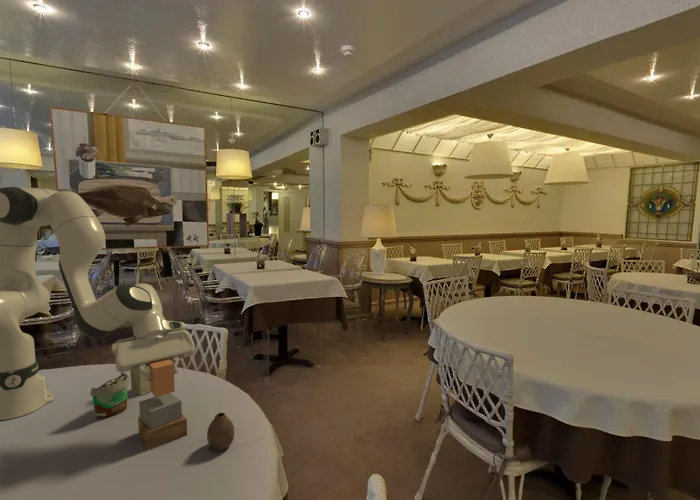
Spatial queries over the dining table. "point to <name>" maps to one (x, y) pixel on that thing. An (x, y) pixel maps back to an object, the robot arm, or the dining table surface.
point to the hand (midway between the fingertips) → (162, 376)
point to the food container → (111, 397)
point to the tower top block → (160, 410)
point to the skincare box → (139, 382)
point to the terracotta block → (162, 377)
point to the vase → (220, 432)
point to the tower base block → (162, 432)
